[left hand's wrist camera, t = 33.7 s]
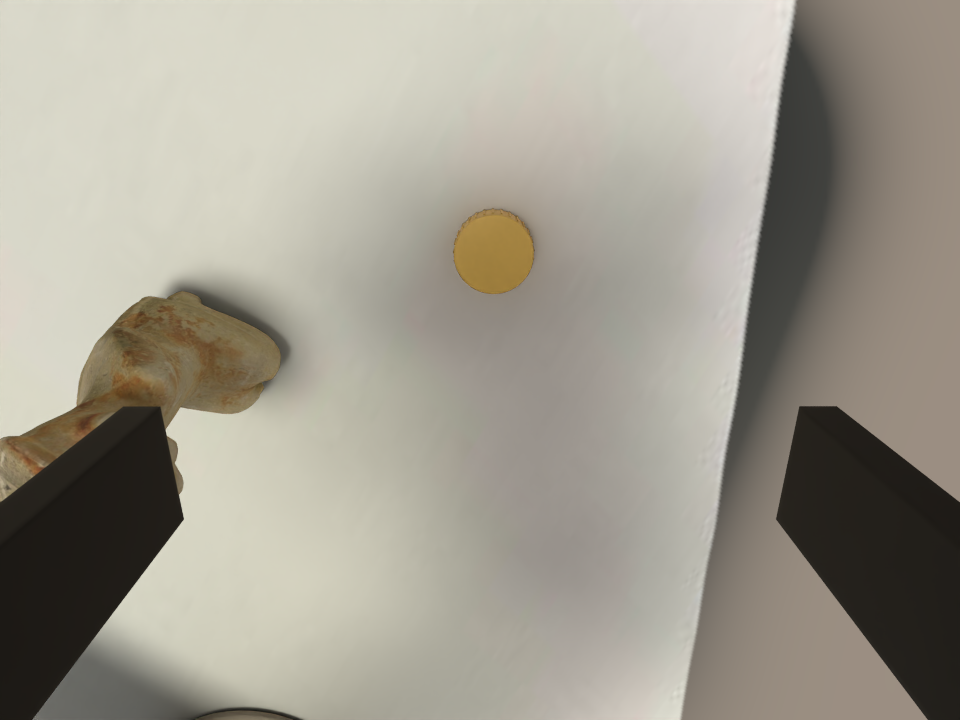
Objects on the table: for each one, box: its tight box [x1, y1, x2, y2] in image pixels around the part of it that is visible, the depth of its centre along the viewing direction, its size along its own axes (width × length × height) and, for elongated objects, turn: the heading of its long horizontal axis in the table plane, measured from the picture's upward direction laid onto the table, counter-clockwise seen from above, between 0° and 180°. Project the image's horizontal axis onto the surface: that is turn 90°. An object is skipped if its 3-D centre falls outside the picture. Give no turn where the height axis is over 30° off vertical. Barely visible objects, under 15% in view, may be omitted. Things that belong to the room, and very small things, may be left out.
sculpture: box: [0, 291, 281, 502], centre depth 26 cm, size 6×7×15 cm
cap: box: [453, 208, 534, 294], centre depth 30 cm, size 4×4×2 cm
